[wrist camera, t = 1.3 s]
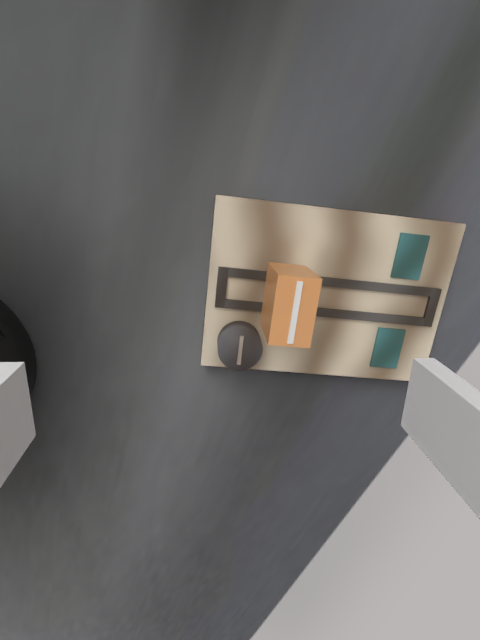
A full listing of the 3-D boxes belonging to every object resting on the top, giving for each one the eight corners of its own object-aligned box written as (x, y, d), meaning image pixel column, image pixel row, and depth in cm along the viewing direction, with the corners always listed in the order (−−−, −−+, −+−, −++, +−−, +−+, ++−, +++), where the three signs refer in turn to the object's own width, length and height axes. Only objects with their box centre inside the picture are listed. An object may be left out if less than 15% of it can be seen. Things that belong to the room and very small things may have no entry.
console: (201, 355, 35) (199, 376, 31) (215, 194, 31) (216, 194, 27) (411, 372, 37) (434, 393, 33) (451, 222, 33) (484, 226, 29)
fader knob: (260, 322, 32) (268, 346, 27) (268, 261, 30) (278, 275, 25) (295, 325, 32) (310, 349, 27) (305, 265, 30) (323, 279, 26)
